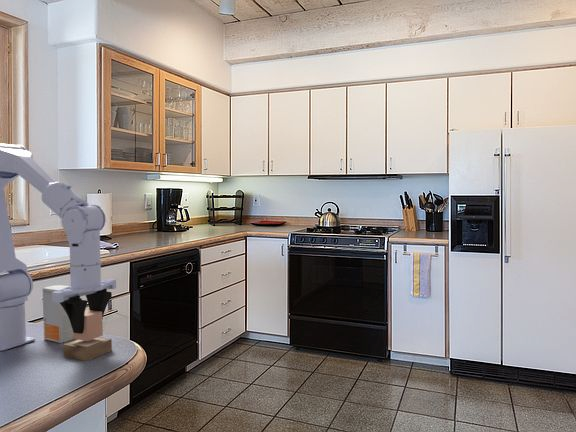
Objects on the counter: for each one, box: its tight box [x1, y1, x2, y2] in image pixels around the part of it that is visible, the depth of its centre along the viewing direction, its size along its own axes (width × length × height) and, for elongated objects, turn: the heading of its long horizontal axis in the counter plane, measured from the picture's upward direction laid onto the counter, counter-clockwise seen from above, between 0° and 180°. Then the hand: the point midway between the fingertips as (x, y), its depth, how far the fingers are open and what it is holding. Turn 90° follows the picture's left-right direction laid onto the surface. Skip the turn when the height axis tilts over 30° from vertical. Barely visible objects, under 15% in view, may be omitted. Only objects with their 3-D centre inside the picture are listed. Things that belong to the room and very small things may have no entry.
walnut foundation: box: [62, 336, 113, 362], centre depth 95 cm, size 6×6×3 cm
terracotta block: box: [73, 309, 104, 341], centre depth 95 cm, size 4×4×5 cm
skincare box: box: [42, 284, 74, 344], centre depth 104 cm, size 6×4×12 cm
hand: (87, 329), depth 95 cm, fingers closed on terracotta block, 4 cm apart
